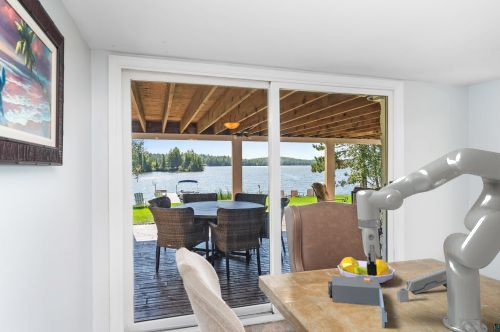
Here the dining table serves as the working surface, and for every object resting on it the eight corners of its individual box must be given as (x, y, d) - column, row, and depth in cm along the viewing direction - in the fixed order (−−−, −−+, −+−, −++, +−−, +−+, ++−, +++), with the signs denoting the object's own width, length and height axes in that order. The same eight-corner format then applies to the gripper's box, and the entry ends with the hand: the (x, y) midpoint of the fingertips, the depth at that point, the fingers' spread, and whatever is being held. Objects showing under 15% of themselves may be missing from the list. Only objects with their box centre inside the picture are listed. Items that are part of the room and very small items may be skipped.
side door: (384, 305, 124) (383, 288, 124) (387, 327, 107) (386, 307, 107) (379, 305, 125) (378, 288, 125) (381, 327, 107) (381, 307, 107)
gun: (463, 287, 140) (458, 266, 140) (414, 305, 136) (408, 282, 136) (459, 286, 142) (453, 264, 142) (410, 302, 138) (405, 281, 138)
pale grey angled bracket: (399, 302, 128) (399, 282, 129) (397, 300, 130) (396, 281, 130) (415, 300, 130) (414, 281, 130) (412, 299, 131) (411, 279, 131)
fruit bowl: (357, 268, 175) (357, 248, 175) (406, 281, 153) (405, 257, 153) (324, 279, 158) (323, 256, 159) (373, 295, 136) (372, 268, 137)
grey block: (381, 306, 125) (381, 286, 125) (328, 301, 130) (328, 282, 130) (377, 294, 136) (377, 276, 137) (328, 291, 141) (328, 273, 142)
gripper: (383, 227, 106) (386, 281, 106) (377, 220, 121) (380, 268, 120) (359, 227, 108) (363, 281, 107) (356, 220, 123) (359, 268, 122)
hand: (372, 274), depth 114 cm, fingers closed
